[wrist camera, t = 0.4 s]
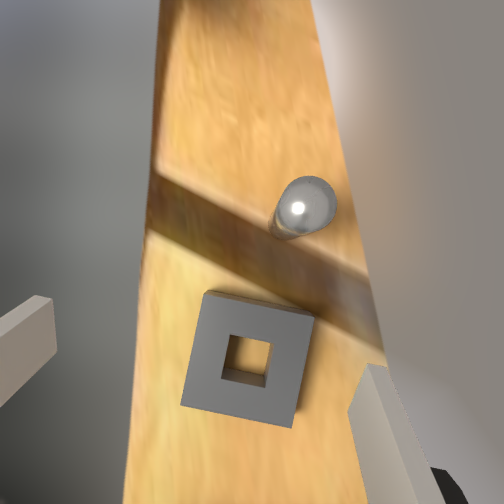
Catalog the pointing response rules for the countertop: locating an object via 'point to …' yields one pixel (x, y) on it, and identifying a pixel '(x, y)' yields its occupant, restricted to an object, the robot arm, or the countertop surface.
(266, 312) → the socket block
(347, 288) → the countertop surface
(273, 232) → the steel peg
